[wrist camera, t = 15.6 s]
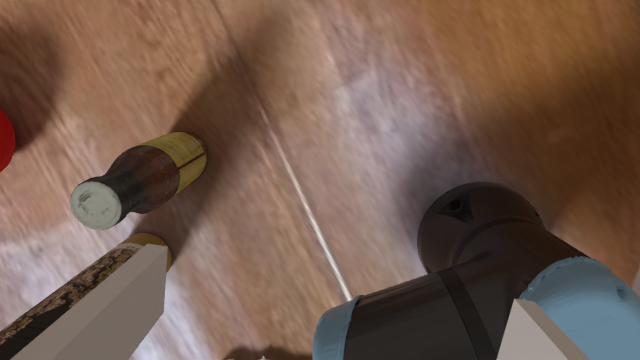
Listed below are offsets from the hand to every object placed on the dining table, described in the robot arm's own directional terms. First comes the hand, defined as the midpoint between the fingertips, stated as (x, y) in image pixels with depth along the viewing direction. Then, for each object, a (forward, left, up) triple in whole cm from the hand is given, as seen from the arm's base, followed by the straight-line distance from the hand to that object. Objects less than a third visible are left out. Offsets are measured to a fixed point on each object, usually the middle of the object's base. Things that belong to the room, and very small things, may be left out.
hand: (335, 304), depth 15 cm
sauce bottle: (+18, +3, -35) cm, 39 cm away
